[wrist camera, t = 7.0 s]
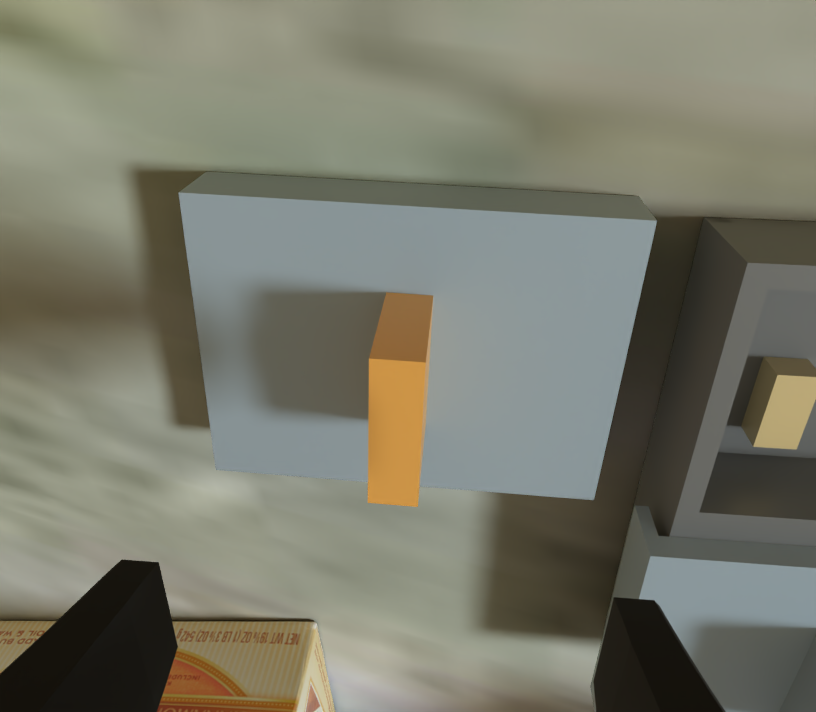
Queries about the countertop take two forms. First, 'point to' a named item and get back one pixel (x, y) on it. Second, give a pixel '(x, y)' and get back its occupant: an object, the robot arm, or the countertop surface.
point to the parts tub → (740, 392)
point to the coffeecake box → (225, 665)
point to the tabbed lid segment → (413, 330)
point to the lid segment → (731, 612)
